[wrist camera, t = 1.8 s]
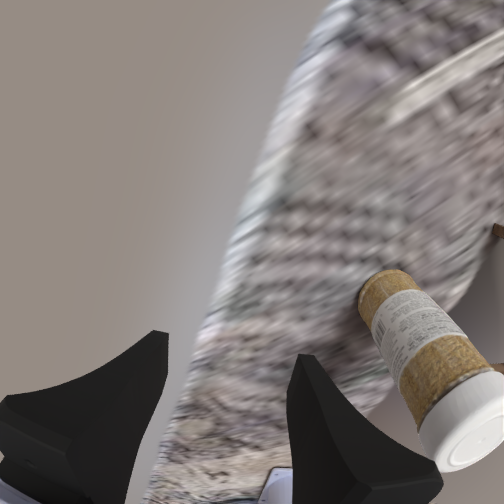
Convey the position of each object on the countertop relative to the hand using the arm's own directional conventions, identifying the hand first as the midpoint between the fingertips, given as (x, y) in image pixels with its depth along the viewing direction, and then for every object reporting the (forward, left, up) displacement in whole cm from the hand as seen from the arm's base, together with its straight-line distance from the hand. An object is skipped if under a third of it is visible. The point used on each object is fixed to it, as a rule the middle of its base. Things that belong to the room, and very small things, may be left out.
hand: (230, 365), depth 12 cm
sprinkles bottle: (0, -10, -10) cm, 14 cm away
